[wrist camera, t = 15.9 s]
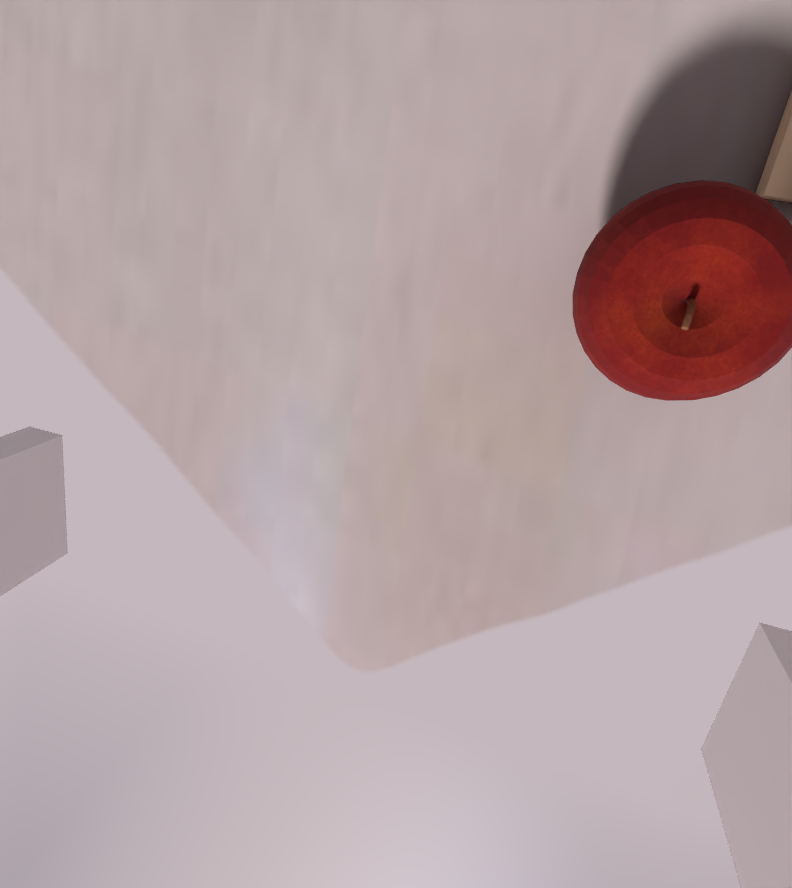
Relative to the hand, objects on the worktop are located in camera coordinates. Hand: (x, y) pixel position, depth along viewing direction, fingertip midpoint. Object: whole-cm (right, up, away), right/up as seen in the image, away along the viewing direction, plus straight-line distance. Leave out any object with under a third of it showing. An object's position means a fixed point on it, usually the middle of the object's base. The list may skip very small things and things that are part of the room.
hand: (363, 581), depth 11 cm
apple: (+15, +11, +21) cm, 29 cm away
